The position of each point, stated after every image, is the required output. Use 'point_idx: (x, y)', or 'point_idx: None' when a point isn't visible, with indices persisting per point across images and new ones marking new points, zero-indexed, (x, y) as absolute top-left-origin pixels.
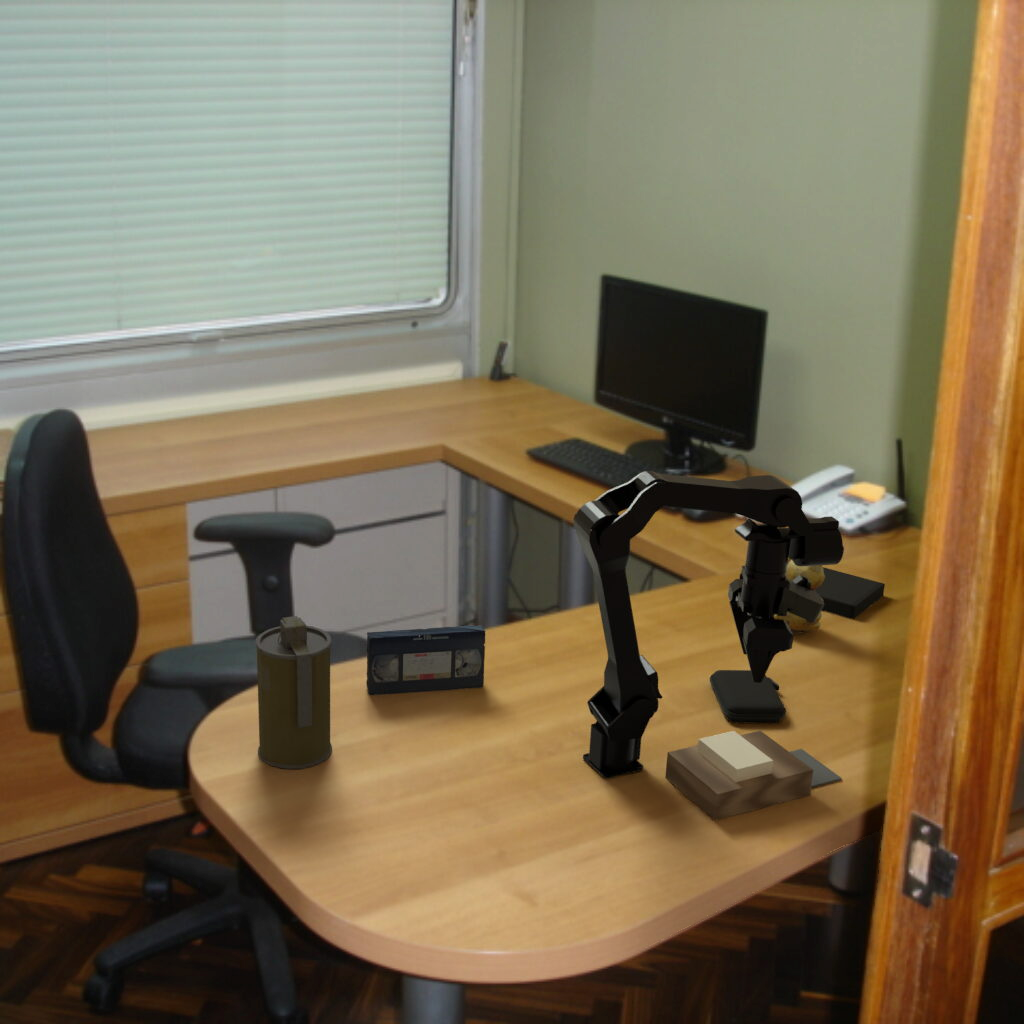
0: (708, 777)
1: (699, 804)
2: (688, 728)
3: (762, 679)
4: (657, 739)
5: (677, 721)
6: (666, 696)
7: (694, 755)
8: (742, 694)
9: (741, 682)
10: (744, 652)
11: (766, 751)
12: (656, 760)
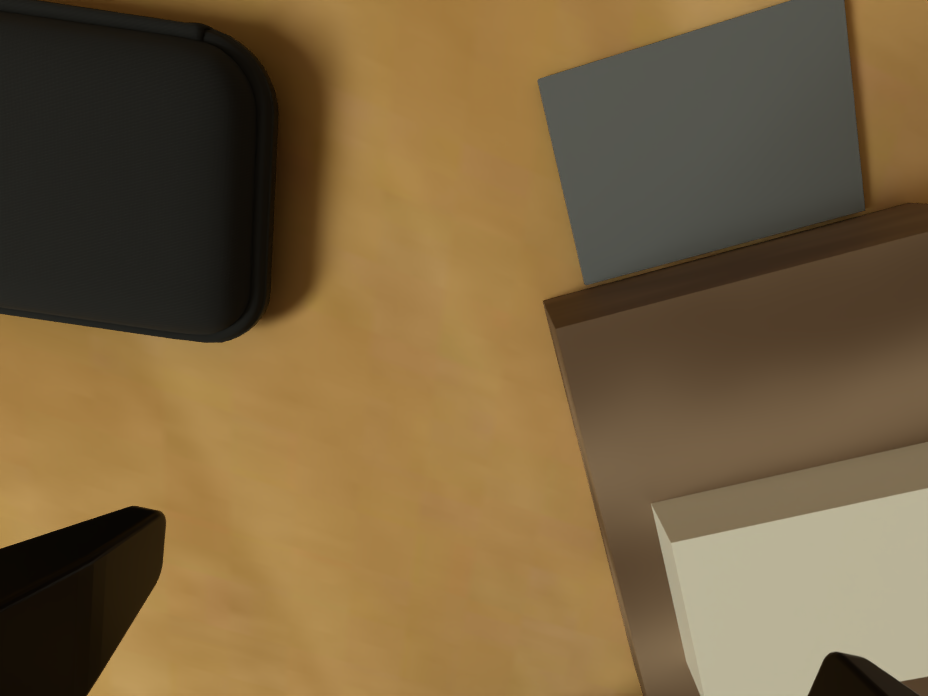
0: None
1: None
2: (300, 491)
3: (900, 685)
4: (375, 617)
5: (243, 512)
6: (37, 490)
7: None
8: (90, 231)
9: None
10: (149, 586)
11: (765, 378)
12: (519, 660)
